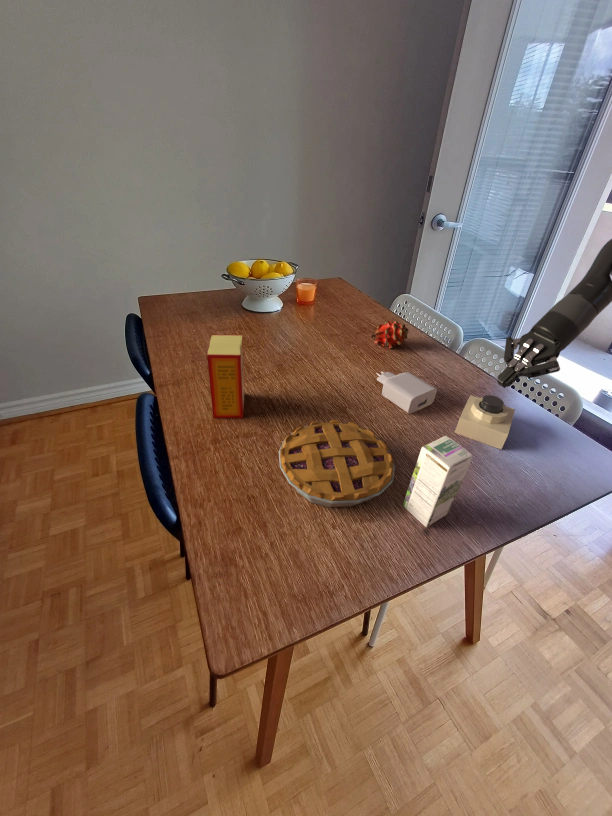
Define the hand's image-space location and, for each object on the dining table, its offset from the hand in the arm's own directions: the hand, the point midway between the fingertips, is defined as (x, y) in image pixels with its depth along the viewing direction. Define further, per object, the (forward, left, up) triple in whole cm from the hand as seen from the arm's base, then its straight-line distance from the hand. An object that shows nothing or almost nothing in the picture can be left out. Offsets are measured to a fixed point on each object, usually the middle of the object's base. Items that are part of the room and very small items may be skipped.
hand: (500, 384), depth 84 cm
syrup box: (+4, +31, -12) cm, 33 cm away
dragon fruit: (+33, -26, -12) cm, 44 cm away
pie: (+22, +31, -12) cm, 40 cm away
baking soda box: (+52, +26, -12) cm, 59 cm away
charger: (+21, -2, -12) cm, 24 cm away
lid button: (0, 0, -6) cm, 6 cm away
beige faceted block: (0, 0, -12) cm, 12 cm away
